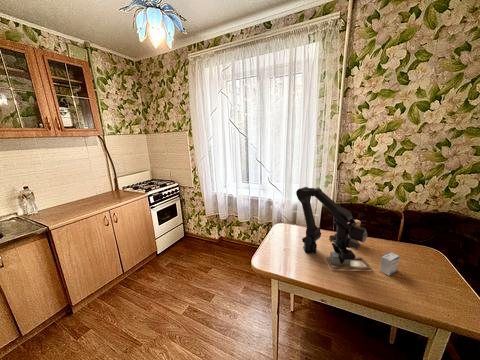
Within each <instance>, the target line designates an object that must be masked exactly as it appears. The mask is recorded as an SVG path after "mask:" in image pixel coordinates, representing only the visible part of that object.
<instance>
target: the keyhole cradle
mask: <svg viewBox="0 0 480 360" xmlns="http://www.w3.org/2000/svg"><path fill="white" fill-rule="evenodd" d="M324 260H325V261H326V264H327V265H328V267H329V269H330V271H348V272H350V271H351V272H352V271H354V272H355V271H356V272H358V271H359V272H372V270H373V267H372V266H371V265H370V264H369V263H368V262H367V260H366V259H365V258H364V257H362V256H356V257H355V260H351V261H350V265H332V263H331V262H330V256H325V259H324Z"/></svg>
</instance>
